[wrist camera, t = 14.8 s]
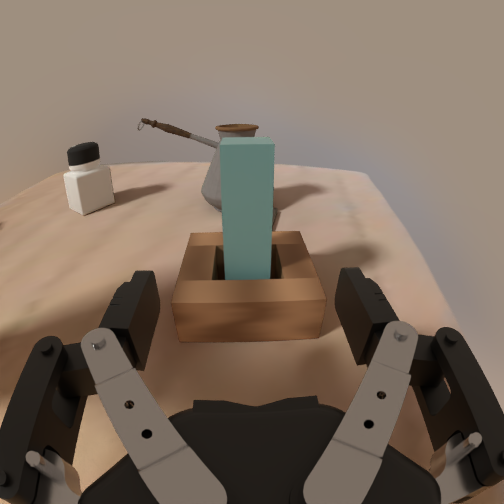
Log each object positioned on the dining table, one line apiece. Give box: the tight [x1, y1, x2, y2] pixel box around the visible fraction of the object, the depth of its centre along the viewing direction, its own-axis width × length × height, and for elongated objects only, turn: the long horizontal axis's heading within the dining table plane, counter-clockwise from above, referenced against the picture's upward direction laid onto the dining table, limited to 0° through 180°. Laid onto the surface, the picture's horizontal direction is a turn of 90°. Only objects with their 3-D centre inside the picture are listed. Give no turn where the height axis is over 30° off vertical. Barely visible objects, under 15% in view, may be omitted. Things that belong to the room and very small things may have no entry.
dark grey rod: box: [272, 208, 277, 226], centre depth 38 cm, size 15×1×1 cm, turn 168°
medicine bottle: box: [64, 142, 115, 216], centre depth 46 cm, size 7×7×12 cm
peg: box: [220, 137, 275, 280], centre depth 24 cm, size 4×4×14 cm
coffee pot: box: [138, 118, 274, 212], centre depth 44 cm, size 21×12×15 cm, turn 88°
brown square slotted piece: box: [171, 231, 327, 342], centre depth 26 cm, size 11×11×4 cm
